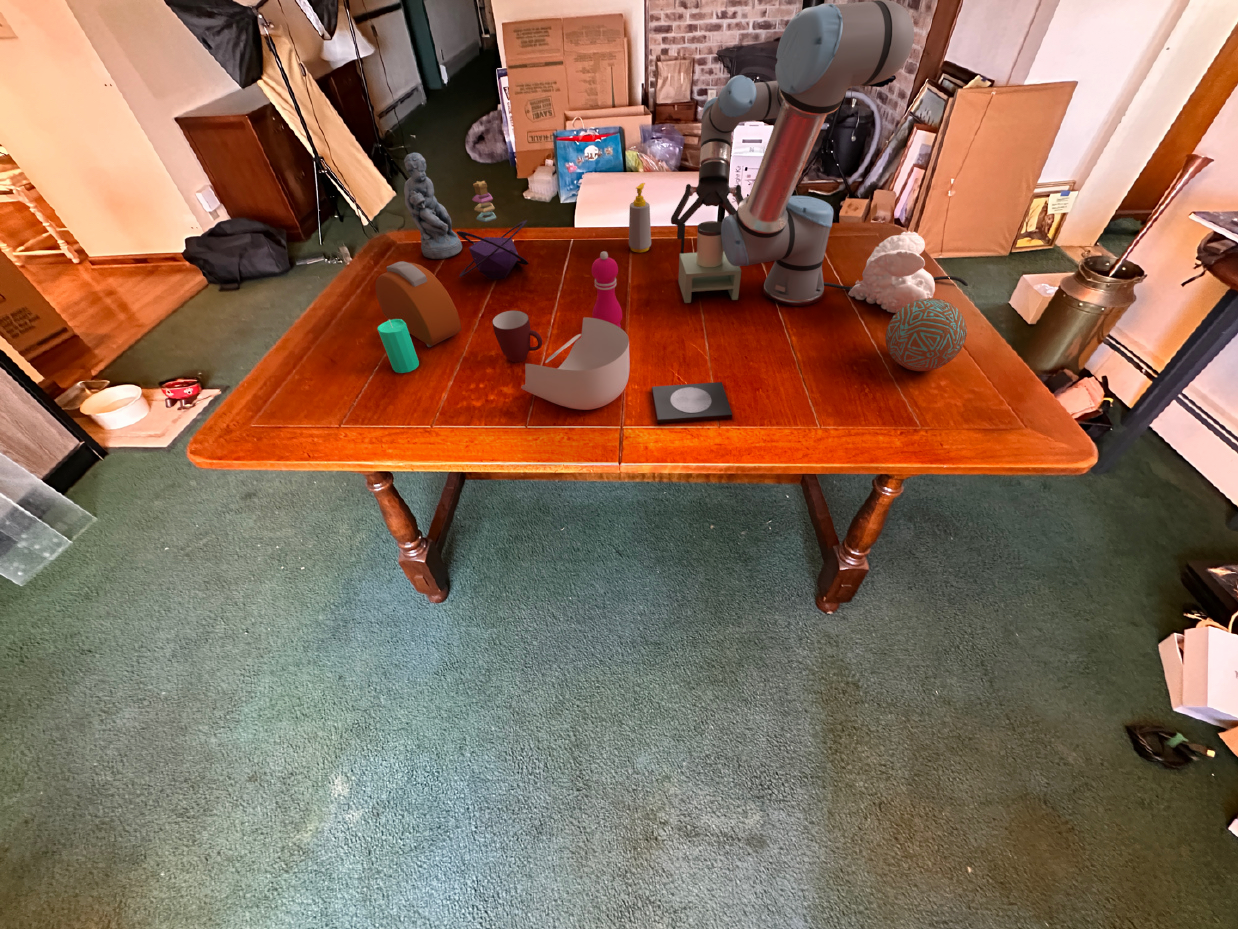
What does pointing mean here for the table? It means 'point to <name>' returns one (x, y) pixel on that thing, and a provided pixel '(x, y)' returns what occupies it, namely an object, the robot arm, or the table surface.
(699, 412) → the hob plate
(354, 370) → the table surface
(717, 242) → the jar
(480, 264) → the purple faceted sculpture
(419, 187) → the statue
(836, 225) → the table surface
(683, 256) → the small table
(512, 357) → the mug
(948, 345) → the decorative sphere
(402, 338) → the candle
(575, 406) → the white curved piece
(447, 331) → the alarm clock
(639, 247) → the soap bottle
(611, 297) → the pepper mill
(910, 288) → the white lumpy figure
